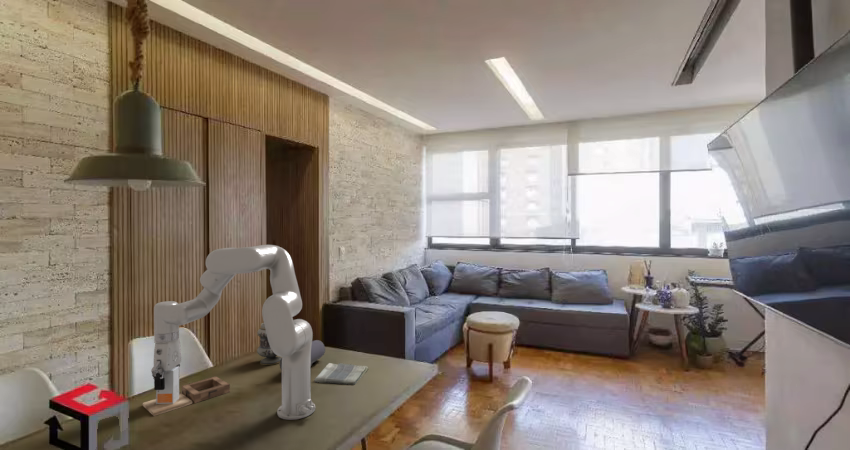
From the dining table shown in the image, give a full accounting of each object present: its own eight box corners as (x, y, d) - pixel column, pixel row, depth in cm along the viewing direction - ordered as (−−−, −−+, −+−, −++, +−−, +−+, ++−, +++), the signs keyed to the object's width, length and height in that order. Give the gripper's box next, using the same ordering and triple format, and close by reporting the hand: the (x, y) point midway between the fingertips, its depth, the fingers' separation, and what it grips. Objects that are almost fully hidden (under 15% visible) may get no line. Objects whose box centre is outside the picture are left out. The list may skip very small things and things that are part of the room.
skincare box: (155, 404, 143) (155, 371, 143) (162, 399, 147) (161, 366, 147) (173, 404, 144) (173, 370, 143) (179, 398, 148) (179, 366, 148)
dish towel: (355, 386, 162) (355, 378, 162) (313, 383, 165) (313, 375, 165) (369, 369, 181) (369, 362, 181) (331, 367, 184) (331, 360, 184)
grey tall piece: (279, 355, 198) (279, 318, 198) (288, 362, 189) (288, 323, 189) (253, 360, 191) (253, 322, 190) (262, 368, 181) (261, 328, 181)
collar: (229, 392, 156) (229, 384, 156) (194, 403, 146) (194, 395, 146) (215, 383, 164) (215, 376, 164) (181, 393, 155) (181, 386, 155)
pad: (192, 403, 146) (192, 400, 146) (153, 416, 137) (153, 412, 137) (179, 394, 154) (179, 391, 154) (142, 405, 145) (142, 402, 145)
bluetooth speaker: (309, 358, 194) (309, 337, 193) (326, 360, 191) (326, 339, 191) (278, 376, 172) (278, 352, 172) (296, 378, 169) (296, 355, 169)
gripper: (164, 343, 137) (164, 394, 137) (189, 329, 154) (190, 374, 154) (140, 344, 136) (141, 394, 136) (169, 330, 153) (169, 375, 154)
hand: (167, 383), depth 145 cm, fingers open, 9 cm apart
